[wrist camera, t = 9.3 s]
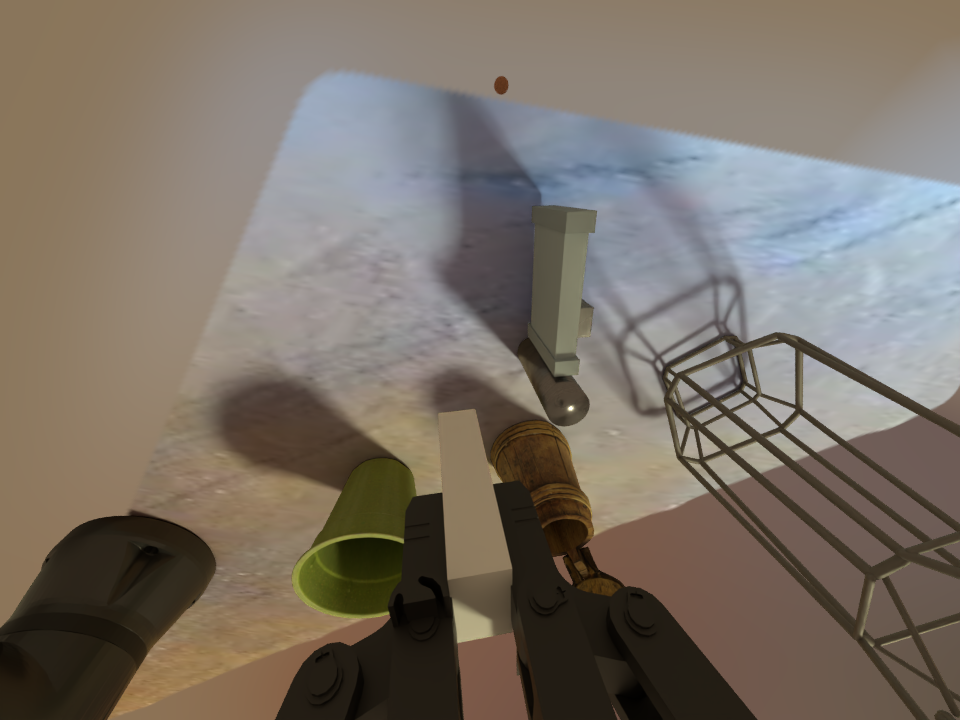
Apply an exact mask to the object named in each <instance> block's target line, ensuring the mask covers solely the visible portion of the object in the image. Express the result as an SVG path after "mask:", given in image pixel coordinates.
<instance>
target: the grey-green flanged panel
mask: <svg viewBox="0 0 960 720" xmlns="http://www.w3.org/2000/svg"><path fill="white" fill-rule="evenodd" d="M596 216H597V211H595V210H587V209H579V208H571V207H564V206H556V205H549V206H532V223H535V235H534V260H533V285H532V310H531V323H528V337H529V338H530V340H531V341H532V343H533V344H534V346H535V348H536V349H537V351H538V352H539V354H540V355H541V357H542V359H543V360H544V362H545V363H546V365H547V366H548V368H549V369H550V371H551V373H552V374H553V376H554V377H558V376H570V375H578V372H579V363H580V360H579V359H578V357H577V356H576V346H577V336H578V327H579V318H580V309H581V299H582V290H583V281H584V271H585V262H586V253H587V244H588V234H589V233H595V224H596Z"/></svg>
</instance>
